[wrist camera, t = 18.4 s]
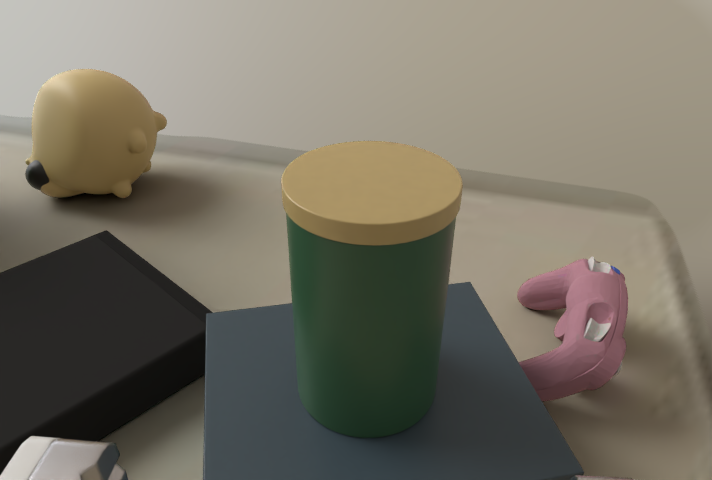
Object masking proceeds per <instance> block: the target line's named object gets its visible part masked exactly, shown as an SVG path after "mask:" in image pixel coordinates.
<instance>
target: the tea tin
mask: <svg viewBox="0 0 712 480" xmlns="http://www.w3.org/2000/svg"><path fill="white" fill-rule="evenodd" d="M281 186H282V200H283V206H284V209H285V211H286V216H287V232H288V247H289V262H290V277H291V292H292V307H293V322H294V337H295V352H296V367H297V382H298V392H299V396H300V399H301V401H302V404H303V405H304V407H305V408H306V410H307V411H308V412H309V414H310V415H311V416H312V417H313V418H314V419H315V420H317V421H318V422H319V423H320V424H322V425H323V426H325V427H326V428H329V429H331V430H333V431H335V432H338V433H340V434H343V435H348V436H352V437H360V438H377V437H384V436H389V435H393V434H396V433H399V432H401V431H403V430H405V429H407V428H409V427H411V426H412V425H414V424H415V423H417V422H418V421H419V420H420V419H421V418H422V417H423V416H424V415H425V414H426V412H427V411H428V410H429V408H430V406H431V405H432V402H433V400H434V396H435V391H436V383H437V375H438V366H439V358H440V349H441V341H442V332H443V324H444V315H445V307H446V298H447V290H448V281H449V273H450V264H451V256H452V247H453V239H454V230H455V221H456V216H457V214H458V212H459V209H460V204H461V196H462V188H463V185H462V179H461V176H460V174H459V172H458V171H457V169H456V168H455V167H454V166H453V165H451V164H450V163H449V162H448V161H447V160H445V159H443V158H442V157H440V156H438V155H436V154H434V153H432V152H429V151H426V150H424V149H420V148H417V147H413V146H409V145H405V144H399V143H392V142H382V141H356V142H345V143H338V144H333V145H328V146H324V147H321V148H317V149H315V150H312V151H309V152H307V153H305V154H303V155H301V156H300V157H298V158H296V159H295V160H294V161H292V162H291V163H290V164H289V165H288V166H287V168H286V169H285V171H284V173H283V175H282V179H281Z"/></svg>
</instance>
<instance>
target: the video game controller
mask: <svg viewBox="0 0 712 480" xmlns="http://www.w3.org/2000/svg"><path fill="white" fill-rule="evenodd" d="M517 297H518V300H519V302H520V303H521V304H522V305H523V306H525V307H527V308H530V309H534V310H556V309H563V308H567V310H566V311H565V313H564V314H563V315H562V317H561V318H560V319H559V321H558V322H557V324H556V327H555V330H554V335H555V337H557V338H558V339H560V340H561V341H563V342H562V344H561V345H560V346H559V347H558V348H556V349H554V350H552V351H550V352H547V353H545V354H543V355H540V356H537V357H534V358H531V359H528V360H525V361H521V362H519V364H520V366H521V368H522V369H523V371H524V373H525V374H526V376H527V378H528V379H529V381H530V383H531V384H532V386H533V388H534V389H535V391H536V392H537V394H538V396H539V397H540V399H541V401H550V400H555V399H560V398H563V397H566V396H569V395H573V394H575V393H578V392H580V391H583V390H585V389H587V390H596V389H598V388H600V387H601V386H603V385H604V384H605V383H607V382H608V381H609V380H610V379H611V378H613V377H615V376H616V375H617V374H618V373H619V372H620V369H621V366H622V360H623V357H624V355H625V351H626V342H625V339H624V338H623V337H622V336H623V332H624V328H625V323H626V318H627V311H628V294H627V288H626V284H625V277H624V275H623V274H622V273H621V272H620V271H619V270H618V269H616V268H615V267H613V266H610V265H609V264H607V263H606V262H597V261H595V259H594V257H593V256H592V257H591V258H590V259H589V260H587V259H580V260H577V261H575V262H573V263H571V264H569V265H567V266H565V267H562V268H560V269H557V270H554V271H551V272H547V273H544V274H541V275H538V276H536V277H533V278H531V279H529V280H527V281H526V282H525V283H523V284H522V285H521V287H520V288H519V290H518V294H517Z"/></svg>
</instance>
